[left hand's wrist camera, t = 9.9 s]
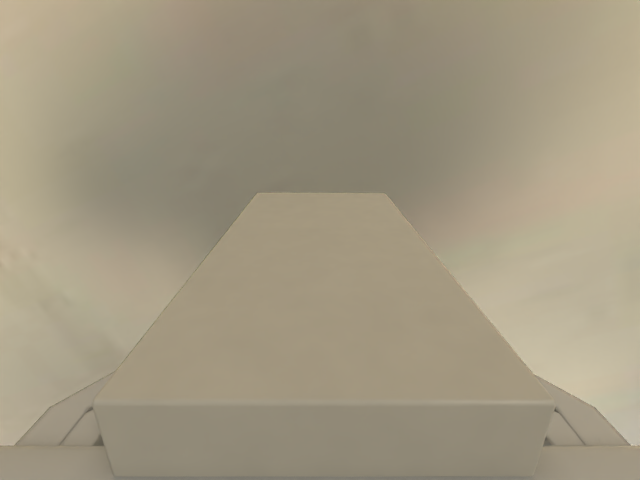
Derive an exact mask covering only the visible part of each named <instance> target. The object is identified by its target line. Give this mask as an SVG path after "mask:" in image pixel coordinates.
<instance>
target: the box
mask: <svg viewBox="0 0 640 480" xmlns="http://www.w3.org/2000/svg"><path fill="white" fill-rule="evenodd" d="M555 407H556V404H555V400H554V399H553V397H552V396H551V395H550V394H549V392H548V391H547V390H546V389H545V388H544V386H543V385H542V384H541V383H540V381H539V380H538V379H537V378H536V377H535V375H534V374H533V373H532V372H531V371H530V369H529V368H528V367H527V366H526V364H525V363H524V362H523V361H522V360H521V358H520V357H519V356H518V355H517V353H516V352H515V351H514V350H513V349H512V347H511V346H510V345H509V344H508V342H507V341H506V340H505V339H504V338H503V336H502V335H501V334H500V333H499V331H498V330H497V329H496V328H495V327H494V325H493V324H492V323H491V322H490V321H489V319H488V318H487V317H486V316H485V314H484V313H483V312H482V311H481V310H480V308H479V307H478V306H477V305H476V303H475V302H474V301H473V300H472V299H471V297H470V296H469V295H468V294H467V292H466V291H465V290H464V289H463V288H462V286H461V285H460V284H459V283H458V282H457V280H456V279H455V278H454V277H453V275H452V274H451V273H450V272H449V271H448V269H447V268H446V267H445V266H444V264H443V263H442V262H441V261H440V260H439V258H438V257H437V256H436V255H435V253H434V252H433V251H432V250H431V249H430V247H429V246H428V245H427V244H426V242H425V241H424V240H423V239H422V238H421V236H420V235H419V234H418V233H417V232H416V230H415V229H414V228H413V227H412V225H411V224H410V223H409V222H408V221H407V219H406V218H405V217H404V216H403V214H402V213H401V212H400V211H399V210H398V208H397V207H396V206H395V205H394V203H393V202H392V201H391V200H390V199H389V197H388V196H387V195H386V194H385V193H257V194H256V195H255V196H254V197H253V199H252V200H251V201H250V202H249V204H248V205H247V206H246V207H245V209H244V210H243V211H242V212H241V214H240V215H239V216H238V217H237V219H236V220H235V221H234V223H233V224H232V225H231V226H230V228H229V229H228V230H227V231H226V233H225V234H224V235H223V236H222V238H221V239H220V240H219V241H218V243H217V244H216V245H215V246H214V248H213V249H212V250H211V251H210V253H209V254H208V255H207V257H206V258H205V259H204V260H203V262H202V263H201V264H200V265H199V267H198V268H197V269H196V270H195V272H194V273H193V274H192V275H191V277H190V278H189V279H188V280H187V282H186V283H185V284H184V286H183V287H182V288H181V289H180V291H179V292H178V293H177V294H176V296H175V297H174V298H173V299H172V301H171V302H170V303H169V304H168V306H167V307H166V308H165V309H164V311H163V312H162V313H161V314H160V316H159V317H158V318H157V320H156V321H155V322H154V323H153V325H152V326H151V327H150V328H149V330H148V331H147V332H146V333H145V335H144V336H143V337H142V338H141V340H140V341H139V342H138V343H137V345H136V346H135V347H134V349H133V350H132V351H131V352H130V354H129V355H128V356H127V357H126V359H125V360H124V361H123V362H122V364H121V365H120V366H119V367H118V369H117V370H116V371H115V372H114V374H113V375H112V376H111V377H110V379H109V380H108V381H107V383H106V384H105V385H104V386H103V388H102V389H101V390H100V391H99V393H98V394H97V395H96V396H95V398H94V399H93V402H92V408H93V411H94V414H95V417H96V421H97V424H98V427H99V431H100V434H101V437H102V440H103V444H104V447H105V450H106V453H107V457H108V460H109V463H110V467H111V470H112V473H113V475H114V476H533V475H534V472H535V469H536V466H537V463H538V460H539V457H540V454H541V450H542V447H543V444H544V441H545V438H546V435H547V432H548V429H549V425H550V422H551V419H552V416H553V413H554V410H555Z"/></svg>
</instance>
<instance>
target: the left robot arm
mask: <svg viewBox="0 0 640 480" xmlns="http://www.w3.org/2000/svg"><path fill="white" fill-rule="evenodd" d="M113 374H114V372H113V373H111V374H109V375H108V376H106V377H104V378H102V379H100V380H98V381H97V382H95V383H93V384H91V385H89V386H88V387H86V388H84V389H82V390H80V391H78V392H77V393H75V394H73V395H71V396H69V397H68V398H66V399H64V400H62V401H60V402H59V403H57V404H55V405H53V406H51V407H50V408H49V409H48V410H47V411H46V412H45V413H44V414H43V415H42V416H41V417H40V418H39V419H38V420H37V422H36V423H35V424H34V425H33V426H32V427H31V428H30V429H29V430H28V431H27V432H26V433H25V434H24V436H23V437H22V438H21V439H20V440H19V441H18V442H17V443H16V444H15V445H14V446H0V480H640V446H631V445H630V444H629V443H628V442H627V441H626V440H625V439H624V438H623V437H622V436H621V435H620V433H619V432H618V431H617V430H616V429H615V428H614V427H613V426H612V425H611V424H610V423H609V422H608V421H607V420H606V419H605V417H604V416H603V415H602V414H601V413H600V412H599V411H598V410H597V409H596V408H595V407H593V406H591V405H589V404H587V403H586V402H584V401H582V400H580V399H578V398H576V397H575V396H573V395H571V394H569V393H567V392H565V391H564V390H562V389H560V388H558V387H556V386H555V385H553V384H551V383H549V382H547V381H545V380H544V379H542V378H540V377H538V376H536V375H535V377H536V378H537V379H538V380H539V381H540V383H541V384H542V385H543V386H544V388H545V389H546V390H547V391H548V392H549V394H550V395H551V396H552V397H553V399H554V400H555V404H556V407H555V410H554V413H553V416H552V419H551V422H550V425H549V429H548V432H547V435H546V438H545V441H544V444H543V447H542V450H541V454H540V457H539V460H538V463H537V466H536V469H535V472H534V475H533V476H114V475H113V473H112V470H111V467H110V463H109V460H108V457H107V453H106V450H105V447H104V444H103V440H102V437H101V434H100V431H99V427H98V424H97V421H96V417H95V414H94V411H93V408H92V402H93V399H94V398H95V396H96V395H97V394H98V393H99V391H100V390H101V389H102V388H103V386H104V385H105V384H106V383H107V381H108V380H109V379H110V377H111V376H112V375H113Z"/></svg>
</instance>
